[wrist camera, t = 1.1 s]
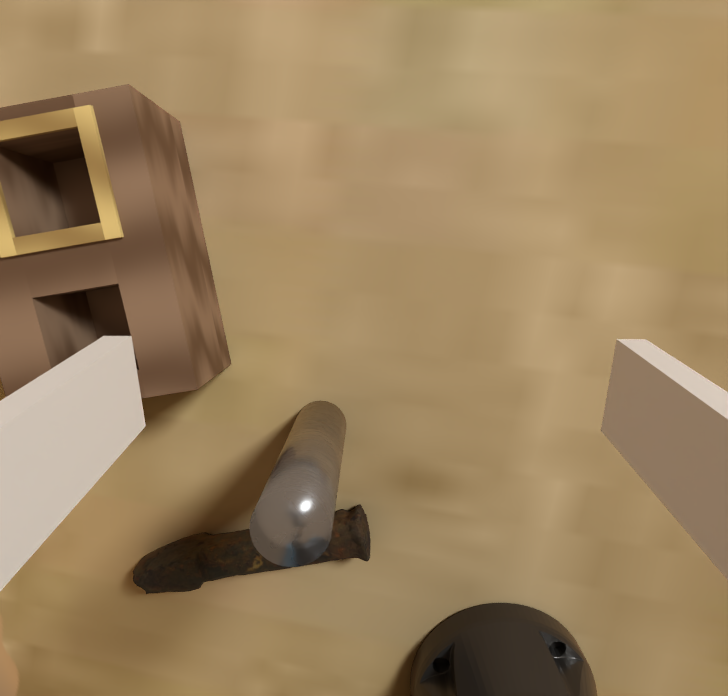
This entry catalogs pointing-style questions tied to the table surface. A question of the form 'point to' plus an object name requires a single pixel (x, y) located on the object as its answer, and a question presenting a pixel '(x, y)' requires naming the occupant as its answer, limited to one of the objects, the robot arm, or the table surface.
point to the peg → (302, 489)
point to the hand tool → (238, 555)
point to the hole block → (103, 241)
